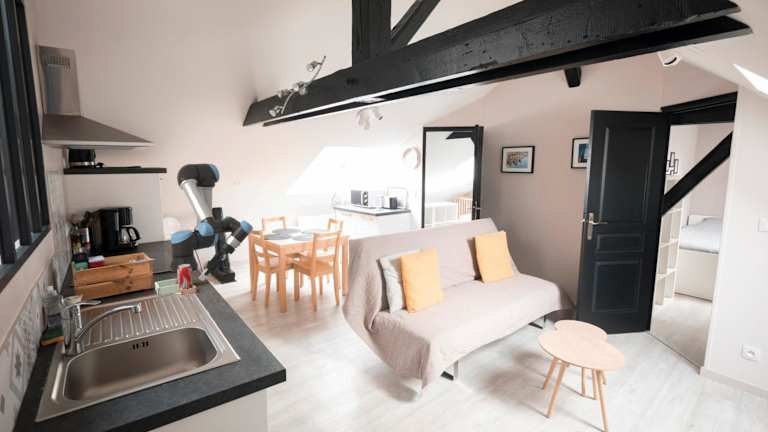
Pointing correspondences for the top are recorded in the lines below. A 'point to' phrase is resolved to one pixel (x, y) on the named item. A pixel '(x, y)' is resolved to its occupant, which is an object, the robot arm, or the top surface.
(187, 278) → the soda can
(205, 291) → the top surface
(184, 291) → the trap near
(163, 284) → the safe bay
